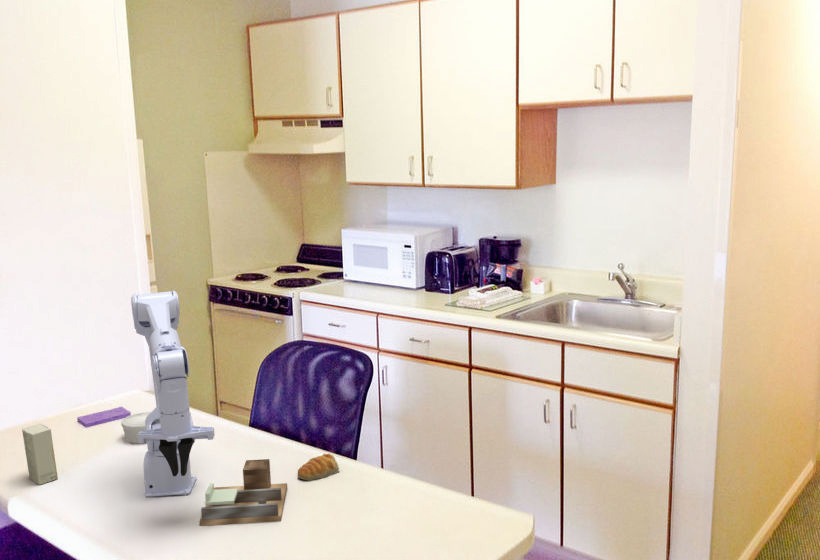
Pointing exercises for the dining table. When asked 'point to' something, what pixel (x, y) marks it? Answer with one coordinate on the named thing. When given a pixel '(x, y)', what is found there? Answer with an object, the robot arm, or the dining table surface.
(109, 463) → the dining table surface
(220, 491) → the cover
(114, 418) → the purple flat block
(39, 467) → the skincare box
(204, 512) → the board
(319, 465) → the pastry
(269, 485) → the brown block
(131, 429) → the ramekin
